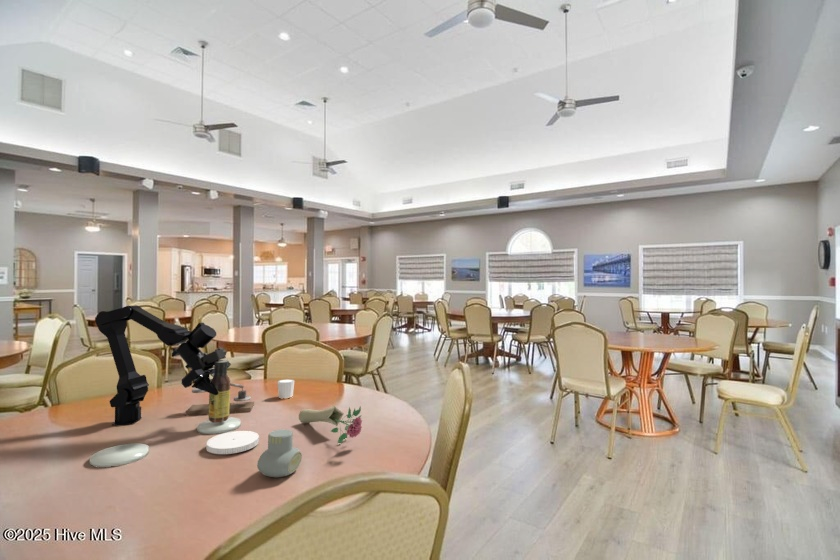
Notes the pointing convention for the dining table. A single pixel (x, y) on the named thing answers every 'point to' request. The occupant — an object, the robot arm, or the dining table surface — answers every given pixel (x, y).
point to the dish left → (119, 455)
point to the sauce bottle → (220, 393)
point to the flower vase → (333, 420)
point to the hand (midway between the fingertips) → (223, 391)
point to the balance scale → (233, 406)
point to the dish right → (219, 426)
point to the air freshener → (279, 455)
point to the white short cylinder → (285, 388)
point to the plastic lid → (232, 442)
